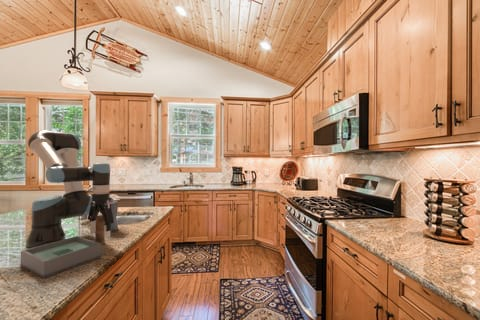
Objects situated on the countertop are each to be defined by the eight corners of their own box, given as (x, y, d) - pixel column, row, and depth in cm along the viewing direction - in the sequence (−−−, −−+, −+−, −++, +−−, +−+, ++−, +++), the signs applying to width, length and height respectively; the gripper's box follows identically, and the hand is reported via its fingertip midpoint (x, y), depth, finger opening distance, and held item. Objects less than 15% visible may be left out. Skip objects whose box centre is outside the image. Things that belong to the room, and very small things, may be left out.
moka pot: (97, 234, 124) (98, 200, 124) (102, 227, 138) (103, 196, 138) (116, 232, 127) (117, 199, 128) (119, 225, 142) (120, 195, 142)
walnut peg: (93, 244, 109) (94, 216, 110) (101, 241, 113) (102, 215, 113) (98, 245, 108) (98, 217, 108) (106, 243, 111) (106, 216, 111)
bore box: (20, 265, 86) (20, 250, 86) (76, 248, 104) (77, 236, 104) (43, 278, 77) (44, 261, 77) (101, 257, 94) (101, 243, 95)
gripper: (80, 192, 113) (79, 233, 112) (107, 195, 102) (106, 241, 101) (95, 190, 119) (94, 230, 119) (122, 193, 109) (121, 237, 108)
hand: (100, 235), depth 110 cm, fingers open, 11 cm apart
